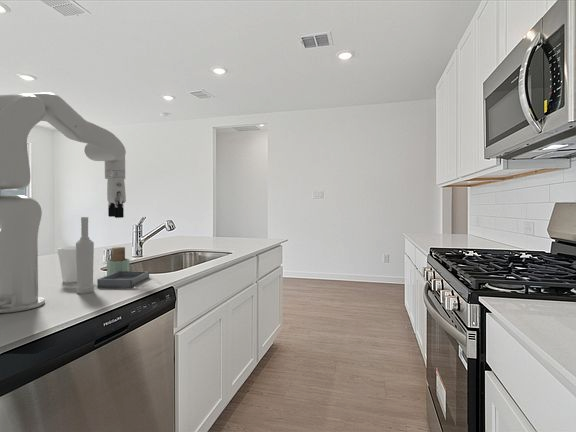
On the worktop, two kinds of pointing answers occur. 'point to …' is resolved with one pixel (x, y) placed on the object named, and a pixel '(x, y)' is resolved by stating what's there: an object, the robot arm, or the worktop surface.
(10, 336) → the worktop surface
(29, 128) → the robot arm
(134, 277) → the tray
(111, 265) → the deep cup
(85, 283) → the bottle
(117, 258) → the walnut peg
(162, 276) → the worktop surface
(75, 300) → the worktop surface
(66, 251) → the foam cup
